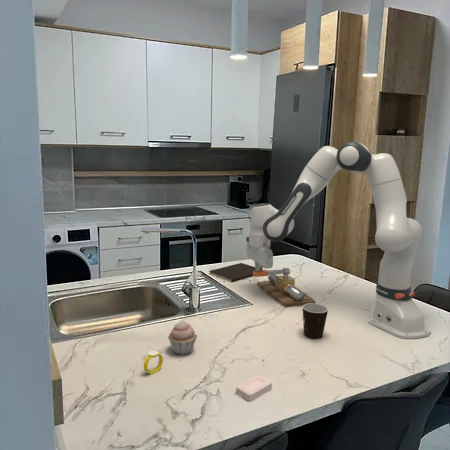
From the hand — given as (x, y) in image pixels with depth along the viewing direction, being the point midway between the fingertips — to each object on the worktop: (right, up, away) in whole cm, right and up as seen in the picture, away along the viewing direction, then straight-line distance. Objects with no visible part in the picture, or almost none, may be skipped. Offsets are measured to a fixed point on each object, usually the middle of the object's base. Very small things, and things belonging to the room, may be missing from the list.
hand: (258, 272), depth 187 cm
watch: (-35, -22, -63) cm, 75 cm away
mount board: (+12, -10, +3) cm, 15 cm away
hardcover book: (-9, -5, +29) cm, 31 cm away
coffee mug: (+15, -18, -37) cm, 44 cm away
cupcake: (-28, -19, -50) cm, 60 cm away
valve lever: (+6, -1, -1) cm, 6 cm away
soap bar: (-7, -25, -70) cm, 75 cm away
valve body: (+12, -10, +3) cm, 15 cm away
